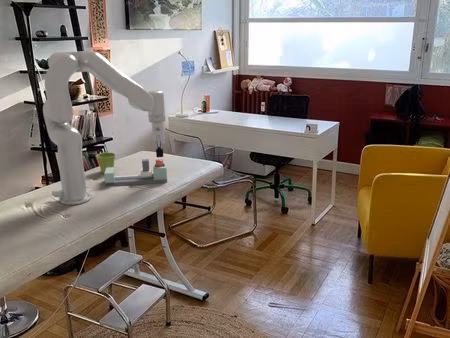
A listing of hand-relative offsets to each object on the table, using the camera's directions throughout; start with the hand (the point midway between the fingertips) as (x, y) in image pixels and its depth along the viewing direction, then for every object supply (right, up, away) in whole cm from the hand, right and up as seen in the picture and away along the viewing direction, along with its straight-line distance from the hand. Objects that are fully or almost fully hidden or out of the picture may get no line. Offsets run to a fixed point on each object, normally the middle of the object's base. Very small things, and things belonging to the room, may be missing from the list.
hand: (159, 156), depth 208 cm
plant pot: (-28, -7, +16) cm, 33 cm away
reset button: (0, -5, +1) cm, 5 cm away
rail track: (-11, -11, +2) cm, 16 cm away
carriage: (-7, -8, +1) cm, 11 cm away
